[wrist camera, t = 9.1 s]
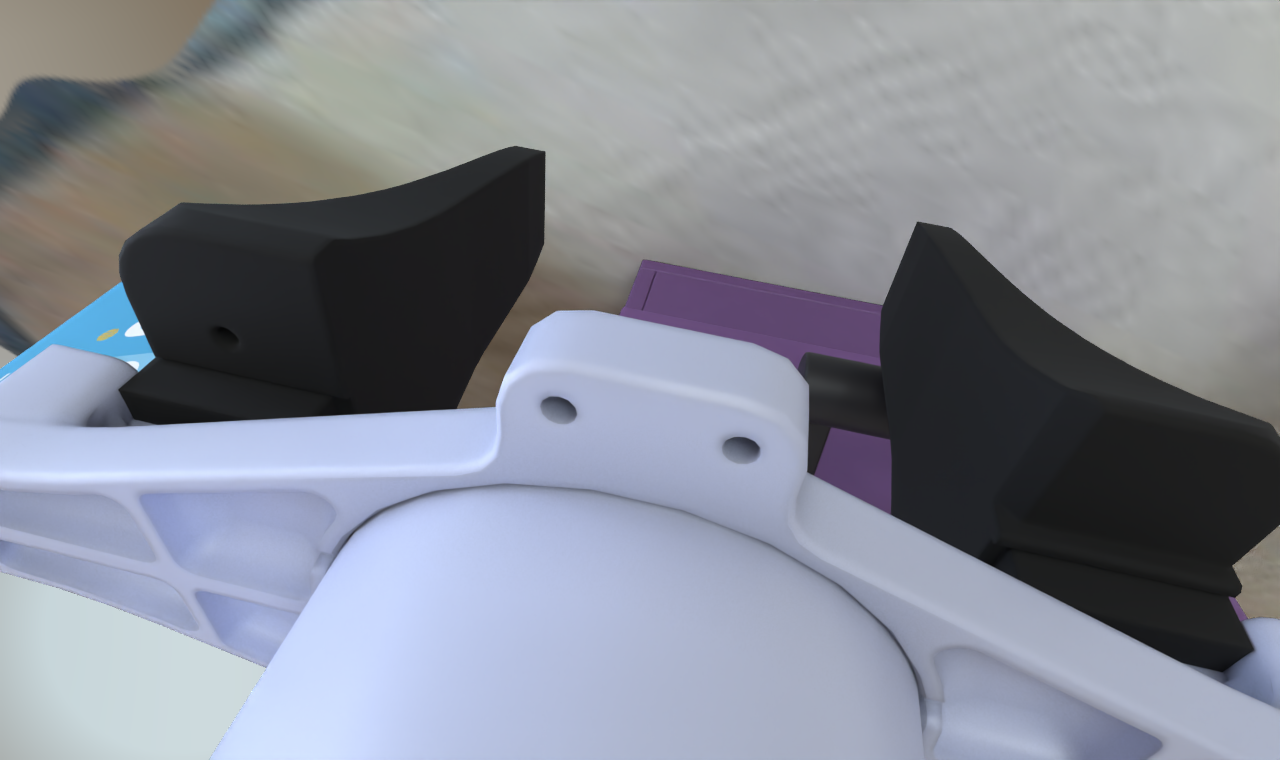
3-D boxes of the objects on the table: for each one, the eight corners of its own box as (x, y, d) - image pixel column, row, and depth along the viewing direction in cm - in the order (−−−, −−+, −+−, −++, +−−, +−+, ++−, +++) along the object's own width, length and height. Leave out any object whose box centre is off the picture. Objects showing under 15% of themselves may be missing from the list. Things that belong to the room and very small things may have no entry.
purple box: (981, 497, 29) (994, 559, 27) (624, 420, 31) (607, 473, 28) (1082, 343, 24) (1110, 404, 21) (643, 258, 25) (623, 307, 23)
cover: (1261, 678, 14) (1428, 529, 12) (537, 512, 16) (545, 346, 13) (1109, 417, 21) (1191, 289, 19) (621, 319, 23) (636, 187, 20)
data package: (418, 200, 25) (196, 431, 17) (467, 304, 28) (299, 551, 19) (172, 242, 29) (-117, 450, 20) (236, 330, 32) (6, 548, 23)
